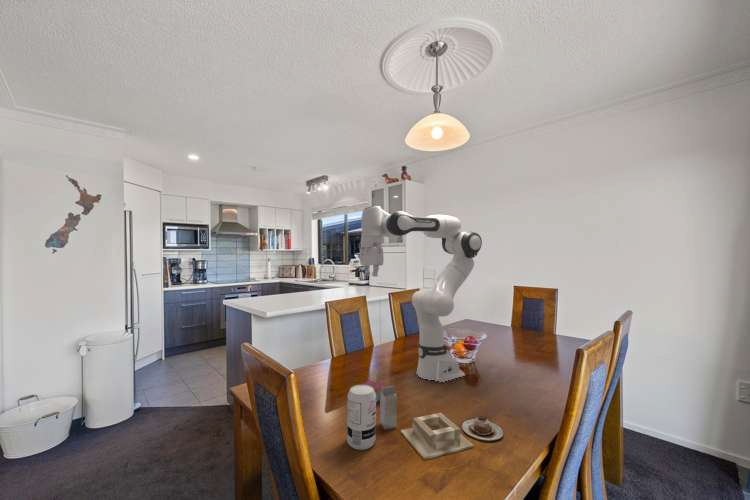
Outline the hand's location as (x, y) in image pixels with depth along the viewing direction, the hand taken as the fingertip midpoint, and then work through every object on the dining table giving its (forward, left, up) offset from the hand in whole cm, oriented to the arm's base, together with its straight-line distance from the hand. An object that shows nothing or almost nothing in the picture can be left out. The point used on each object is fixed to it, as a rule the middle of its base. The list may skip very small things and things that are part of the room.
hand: (371, 276), depth 129 cm
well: (-5, +43, -46) cm, 63 cm away
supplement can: (+16, +37, -46) cm, 61 cm away
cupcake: (+4, +13, -46) cm, 48 cm away
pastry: (-21, +44, -47) cm, 68 cm away
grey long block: (+5, +31, -46) cm, 56 cm away
